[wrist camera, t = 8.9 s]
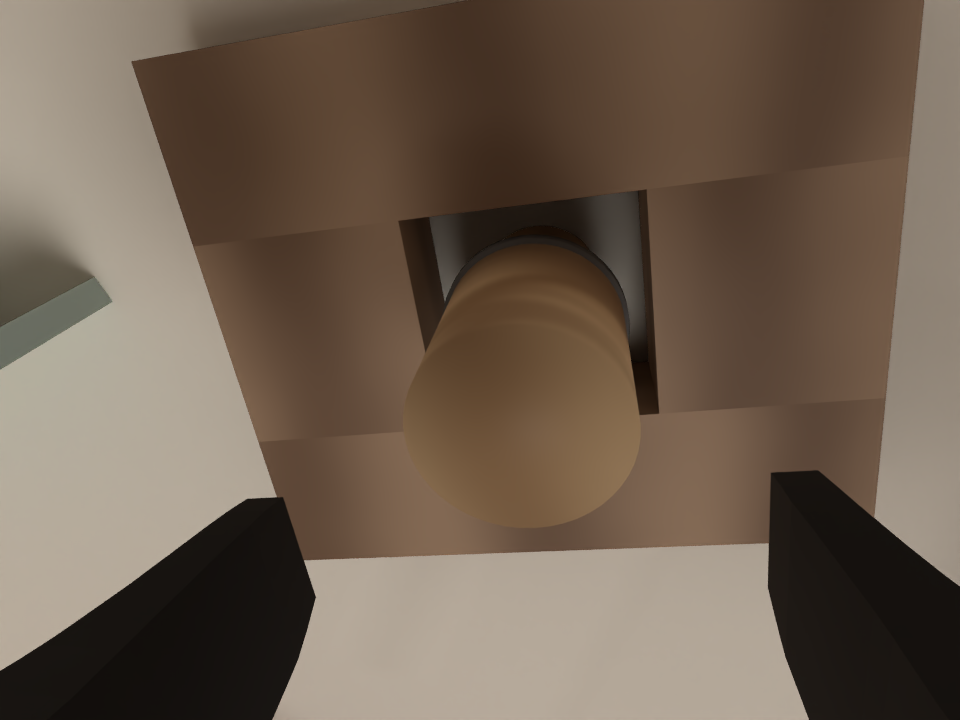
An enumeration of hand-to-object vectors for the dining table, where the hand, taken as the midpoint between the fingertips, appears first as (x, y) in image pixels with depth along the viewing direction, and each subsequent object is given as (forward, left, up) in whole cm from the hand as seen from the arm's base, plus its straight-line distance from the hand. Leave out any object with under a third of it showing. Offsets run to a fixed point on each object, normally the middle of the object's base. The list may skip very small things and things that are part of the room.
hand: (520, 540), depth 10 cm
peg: (0, 0, -10) cm, 10 cm away
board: (0, -1, -10) cm, 10 cm away
